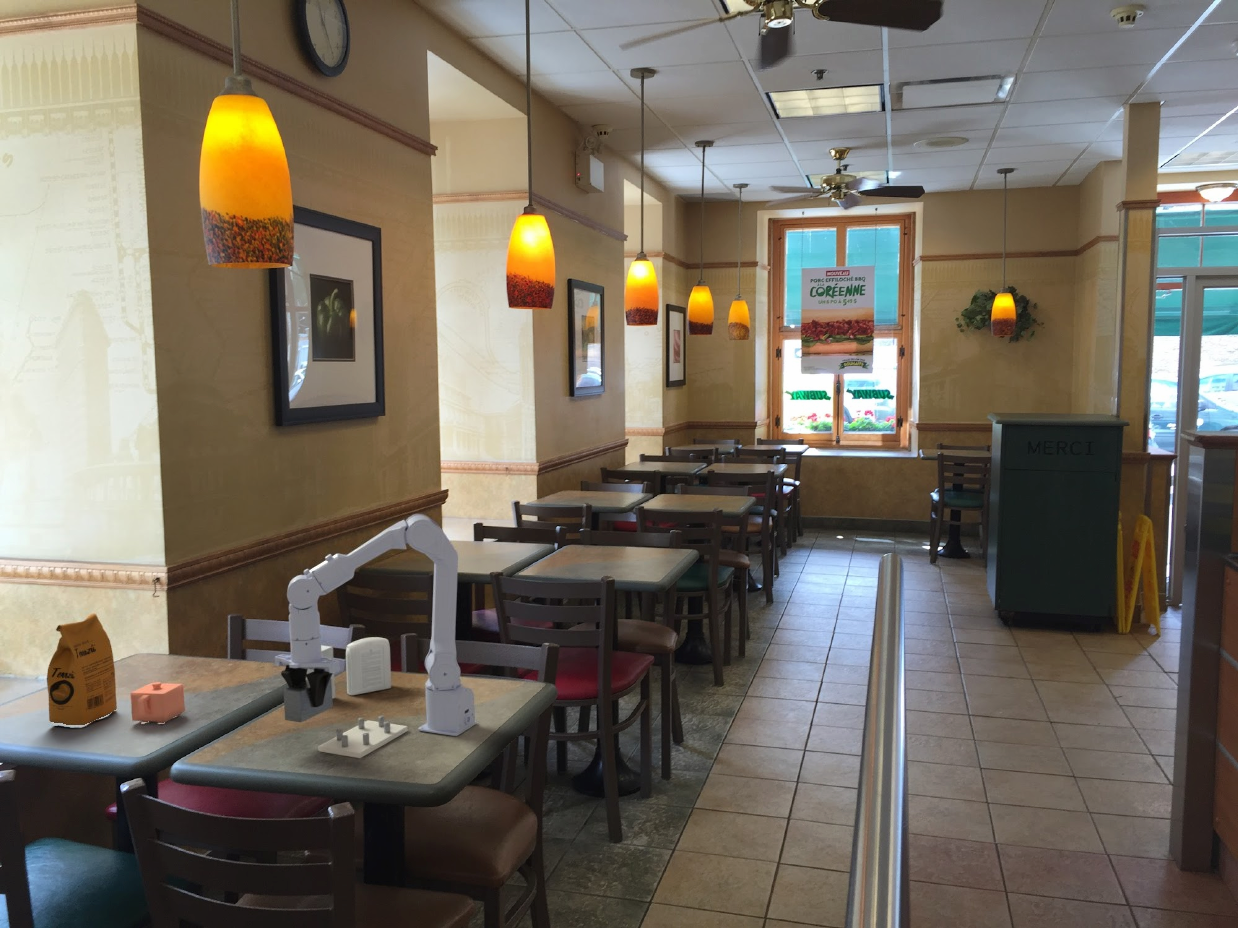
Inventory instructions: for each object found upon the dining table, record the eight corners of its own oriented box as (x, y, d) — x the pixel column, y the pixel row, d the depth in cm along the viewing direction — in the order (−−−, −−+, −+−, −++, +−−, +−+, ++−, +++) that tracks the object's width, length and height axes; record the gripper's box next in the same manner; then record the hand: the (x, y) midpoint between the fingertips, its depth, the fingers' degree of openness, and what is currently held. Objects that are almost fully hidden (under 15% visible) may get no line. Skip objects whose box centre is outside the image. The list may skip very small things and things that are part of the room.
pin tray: (407, 730, 195) (406, 716, 195) (360, 758, 182) (359, 742, 181) (367, 724, 199) (367, 710, 199) (318, 751, 186) (317, 735, 185)
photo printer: (387, 683, 226) (385, 632, 225) (394, 688, 223) (391, 636, 222) (344, 692, 221) (342, 640, 220) (350, 697, 217) (348, 644, 216)
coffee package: (41, 728, 202) (33, 626, 200) (86, 708, 214) (79, 611, 212) (81, 731, 200) (73, 627, 198) (124, 710, 212) (117, 613, 210)
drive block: (332, 707, 192) (331, 678, 192) (301, 722, 184) (299, 692, 183) (316, 704, 194) (315, 676, 193) (285, 719, 186) (283, 689, 185)
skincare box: (302, 700, 215) (299, 648, 214) (314, 694, 219) (312, 643, 218) (323, 703, 213) (321, 651, 212) (336, 697, 217) (333, 646, 216)
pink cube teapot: (194, 710, 211) (191, 673, 210) (159, 730, 199) (156, 691, 199) (162, 709, 212) (159, 672, 212) (125, 728, 201) (123, 690, 200)
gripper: (261, 638, 187) (266, 706, 188) (320, 645, 181) (324, 715, 182) (287, 629, 193) (291, 695, 194) (345, 636, 187) (348, 703, 189)
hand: (309, 704), depth 189 cm, fingers closed on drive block, 4 cm apart
